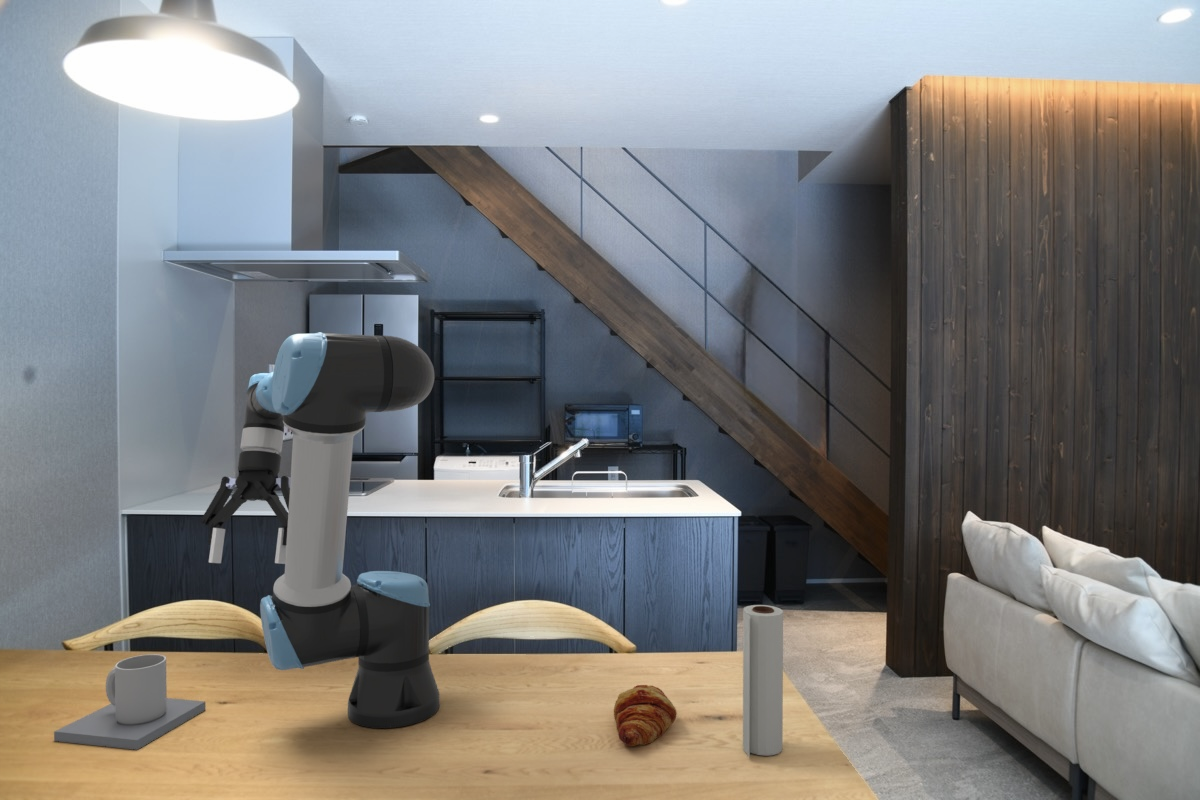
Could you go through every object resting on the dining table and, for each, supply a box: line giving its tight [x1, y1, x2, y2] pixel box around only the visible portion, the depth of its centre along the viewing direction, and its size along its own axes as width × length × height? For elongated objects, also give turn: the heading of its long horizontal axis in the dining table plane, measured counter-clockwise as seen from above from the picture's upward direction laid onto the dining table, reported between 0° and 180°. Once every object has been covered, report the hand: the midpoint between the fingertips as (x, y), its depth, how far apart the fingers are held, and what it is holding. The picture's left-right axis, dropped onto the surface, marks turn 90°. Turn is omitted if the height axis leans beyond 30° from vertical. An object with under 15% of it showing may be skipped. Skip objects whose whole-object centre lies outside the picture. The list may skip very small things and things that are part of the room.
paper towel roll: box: [742, 604, 784, 760], centre depth 120 cm, size 7×6×21 cm
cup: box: [105, 653, 168, 725], centre depth 129 cm, size 7×10×9 cm
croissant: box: [613, 684, 678, 747], centre depth 128 cm, size 21×10×8 cm, turn 166°
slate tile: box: [53, 697, 207, 751], centre depth 129 cm, size 15×15×2 cm
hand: (247, 563), depth 149 cm, fingers open, 13 cm apart
